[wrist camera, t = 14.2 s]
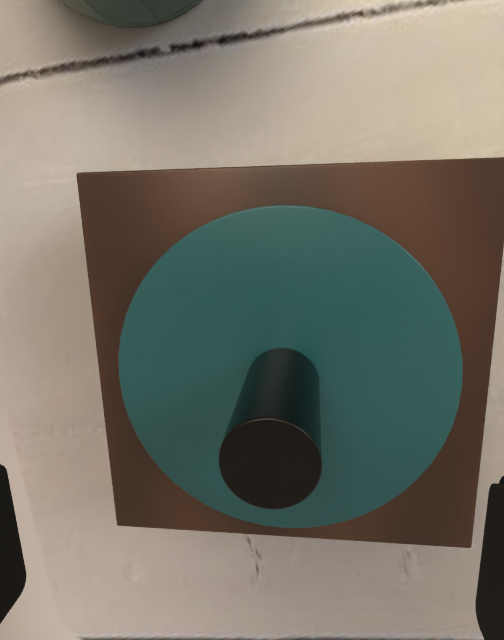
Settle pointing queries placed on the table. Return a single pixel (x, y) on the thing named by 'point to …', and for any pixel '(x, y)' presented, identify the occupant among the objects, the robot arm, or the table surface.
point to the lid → (290, 366)
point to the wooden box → (346, 198)
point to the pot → (131, 10)
